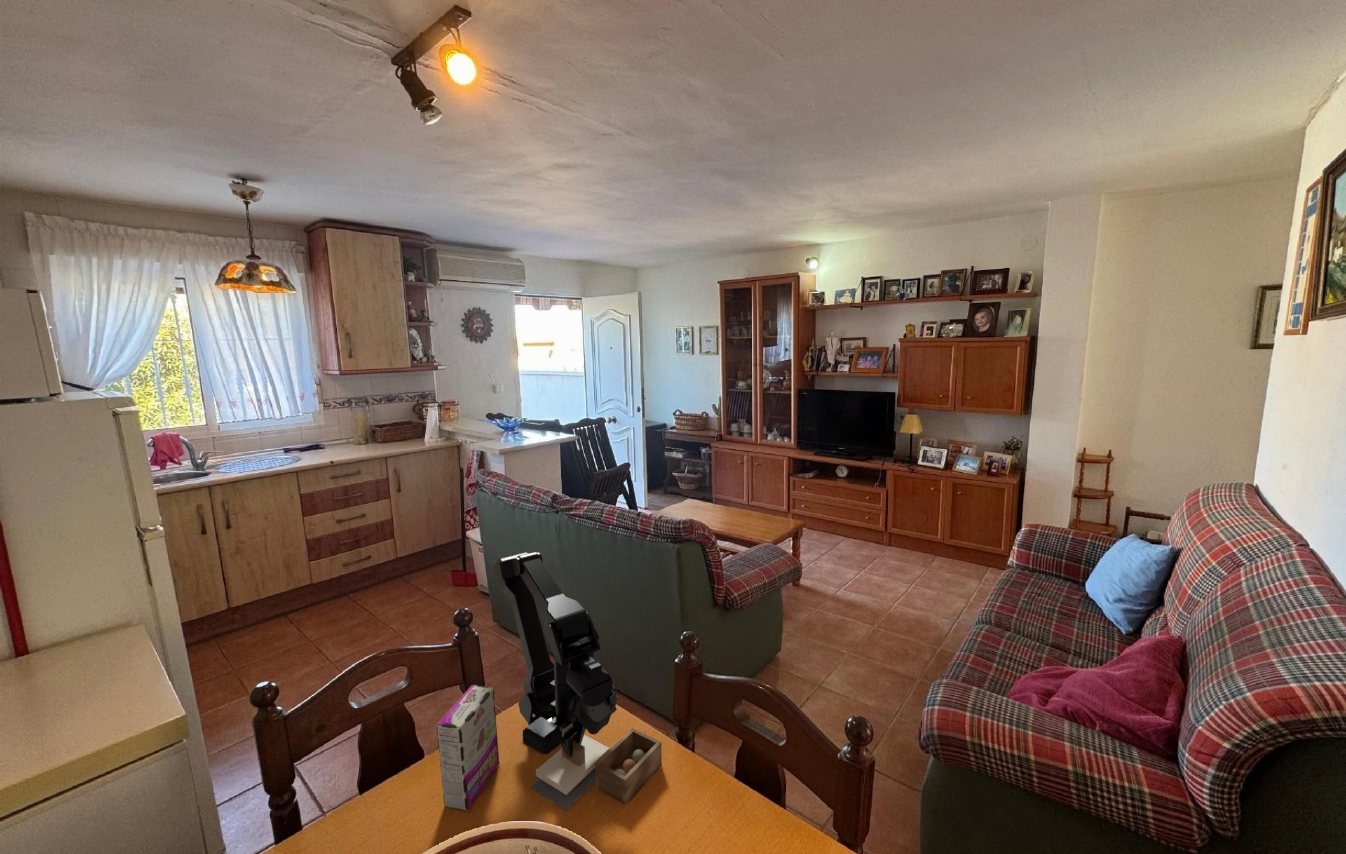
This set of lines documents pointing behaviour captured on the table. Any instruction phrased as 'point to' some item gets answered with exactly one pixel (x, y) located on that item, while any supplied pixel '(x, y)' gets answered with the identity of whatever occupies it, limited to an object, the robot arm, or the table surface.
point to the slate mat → (560, 797)
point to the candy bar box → (468, 746)
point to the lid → (571, 765)
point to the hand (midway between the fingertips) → (572, 753)
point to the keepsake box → (628, 766)
